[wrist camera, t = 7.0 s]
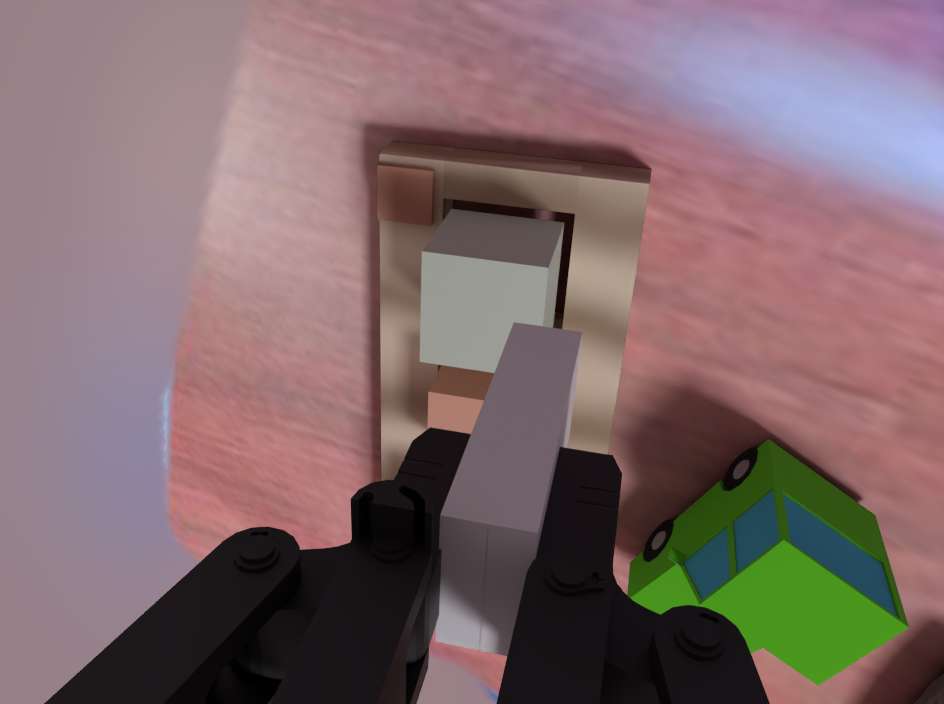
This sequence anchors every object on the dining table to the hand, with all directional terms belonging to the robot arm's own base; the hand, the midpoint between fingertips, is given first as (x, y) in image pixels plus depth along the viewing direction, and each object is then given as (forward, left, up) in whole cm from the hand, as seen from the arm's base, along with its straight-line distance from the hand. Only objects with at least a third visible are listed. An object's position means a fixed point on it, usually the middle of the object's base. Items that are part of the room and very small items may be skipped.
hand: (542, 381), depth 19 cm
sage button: (+9, -5, -26) cm, 28 cm away
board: (+18, -5, -28) cm, 34 cm away
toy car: (+26, +11, -29) cm, 40 cm away
